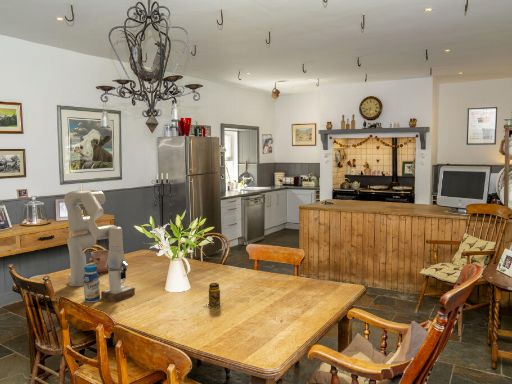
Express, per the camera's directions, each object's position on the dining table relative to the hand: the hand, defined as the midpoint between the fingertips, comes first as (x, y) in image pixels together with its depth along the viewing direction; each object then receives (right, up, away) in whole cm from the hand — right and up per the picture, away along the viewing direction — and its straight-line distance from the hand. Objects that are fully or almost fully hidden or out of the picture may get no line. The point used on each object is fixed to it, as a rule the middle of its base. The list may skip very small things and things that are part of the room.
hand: (117, 277), depth 247 cm
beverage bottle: (-13, -12, -5) cm, 18 cm away
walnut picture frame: (0, -11, +1) cm, 11 cm away
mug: (0, -7, +1) cm, 7 cm away
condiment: (+57, -12, -15) cm, 60 cm away
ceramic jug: (-28, -7, +53) cm, 61 cm away
